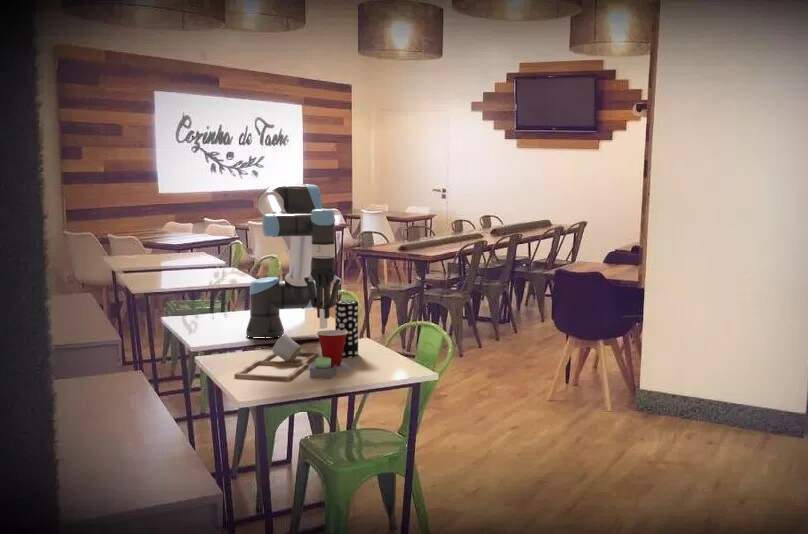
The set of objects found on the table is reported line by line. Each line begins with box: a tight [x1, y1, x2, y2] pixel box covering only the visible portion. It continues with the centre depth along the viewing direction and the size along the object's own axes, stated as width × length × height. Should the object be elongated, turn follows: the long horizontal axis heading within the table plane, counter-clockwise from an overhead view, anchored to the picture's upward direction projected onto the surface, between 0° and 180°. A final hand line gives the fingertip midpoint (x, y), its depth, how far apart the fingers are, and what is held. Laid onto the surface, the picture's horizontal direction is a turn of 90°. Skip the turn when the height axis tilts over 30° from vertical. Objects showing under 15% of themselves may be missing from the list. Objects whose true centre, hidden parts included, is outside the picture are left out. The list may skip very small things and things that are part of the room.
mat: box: [303, 358, 361, 373], centre depth 274 cm, size 16×16×1 cm
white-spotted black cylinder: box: [334, 299, 359, 359], centre depth 287 cm, size 8×8×20 cm
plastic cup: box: [316, 329, 348, 366], centre depth 273 cm, size 11×11×12 cm
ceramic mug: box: [271, 333, 302, 362], centre depth 279 cm, size 11×8×8 cm
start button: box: [315, 356, 331, 368], centre depth 259 cm, size 5×5×2 cm
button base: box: [309, 364, 337, 380], centre depth 260 cm, size 7×7×4 cm
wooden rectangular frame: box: [234, 351, 319, 382], centre depth 271 cm, size 34×19×2 cm, turn 169°
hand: (323, 327), depth 259 cm, fingers closed
